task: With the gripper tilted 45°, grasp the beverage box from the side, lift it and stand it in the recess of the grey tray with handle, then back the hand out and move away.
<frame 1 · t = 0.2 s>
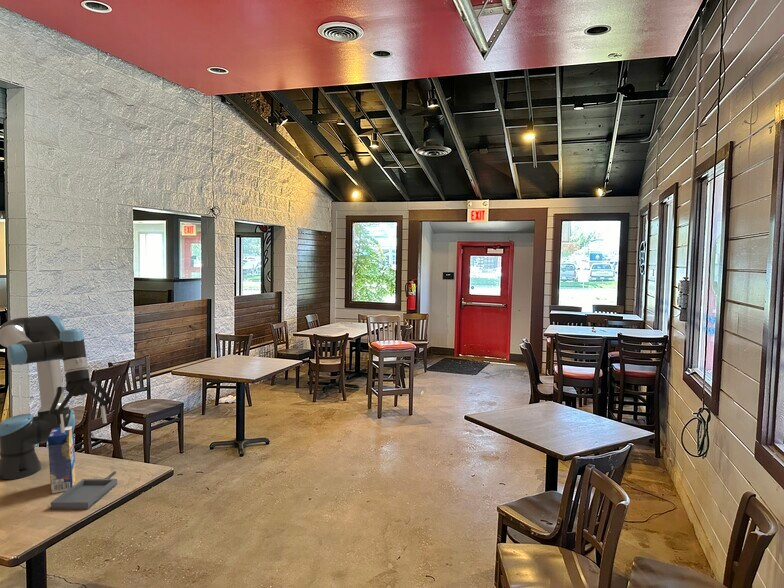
hand: (84, 428, 191), 27 cm above the table, tool tilted 15°, fingers open, 13 cm apart
beverage box: (63, 486, 204), on the table
grey tray with handle: (85, 496, 195), on the table
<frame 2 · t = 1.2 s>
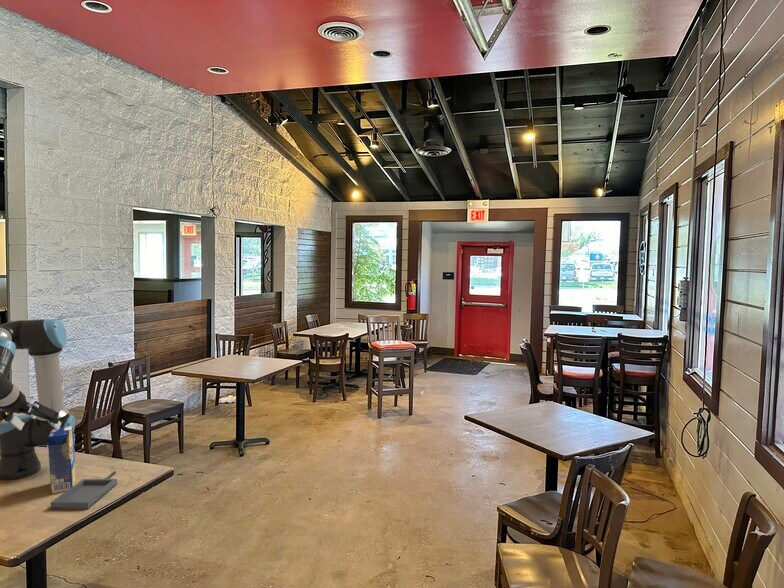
hand: (40, 426, 191), 28 cm above the table, tool tilted 45°, fingers open, 13 cm apart
nothing on the table moved.
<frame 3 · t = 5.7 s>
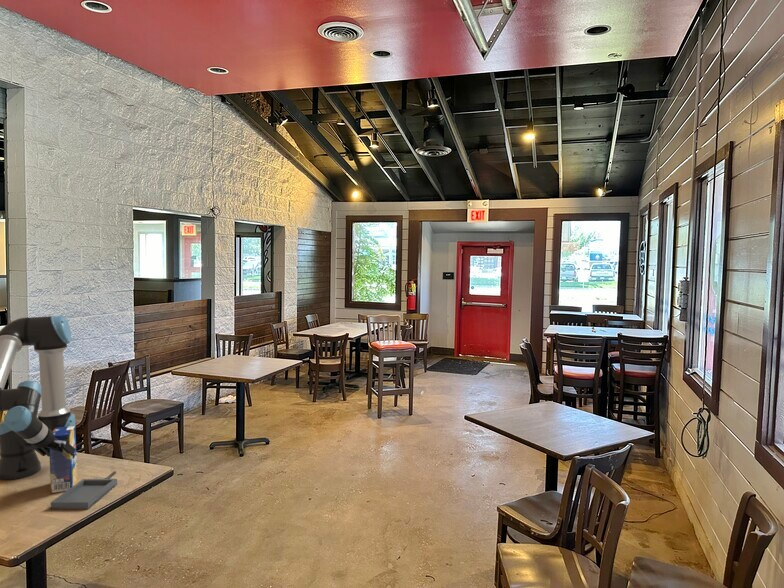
hand: (68, 460, 207), 9 cm above the table, tool tilted 45°, fingers open, 5 cm apart
beverage box: (64, 486, 204), on the table, touching gripper
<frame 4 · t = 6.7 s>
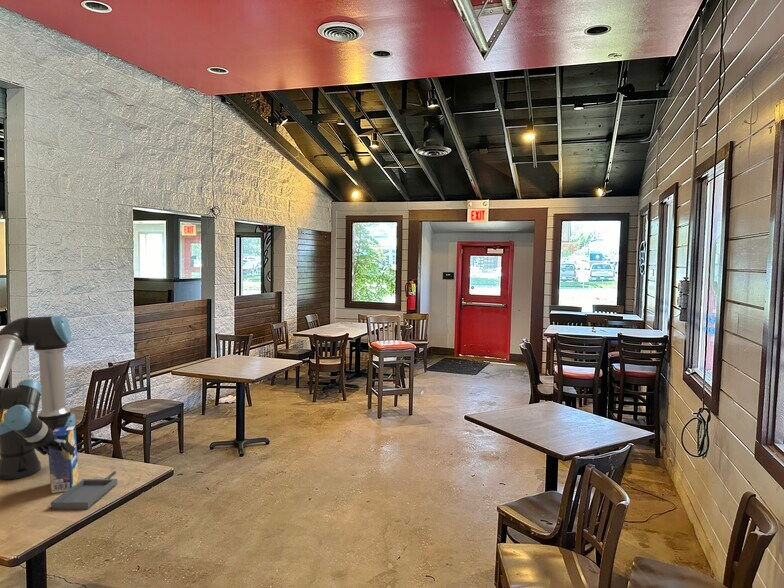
hand: (68, 459, 207), 9 cm above the table, tool tilted 45°, fingers open, 4 cm apart
nothing on the table moved.
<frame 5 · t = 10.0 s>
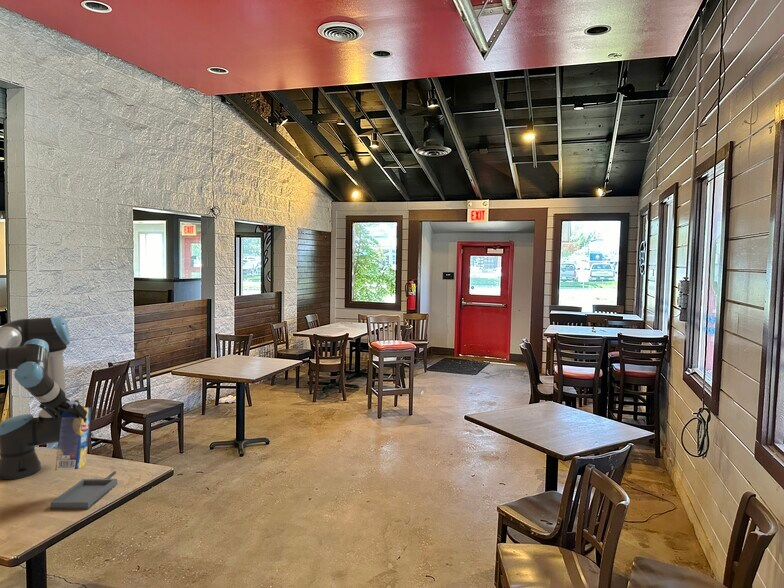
hand: (80, 425, 200), 25 cm above the table, tool tilted 45°, fingers closed on beverage box, 4 cm apart
beverage box: (70, 468, 194), point 11 cm above the table, touching gripper
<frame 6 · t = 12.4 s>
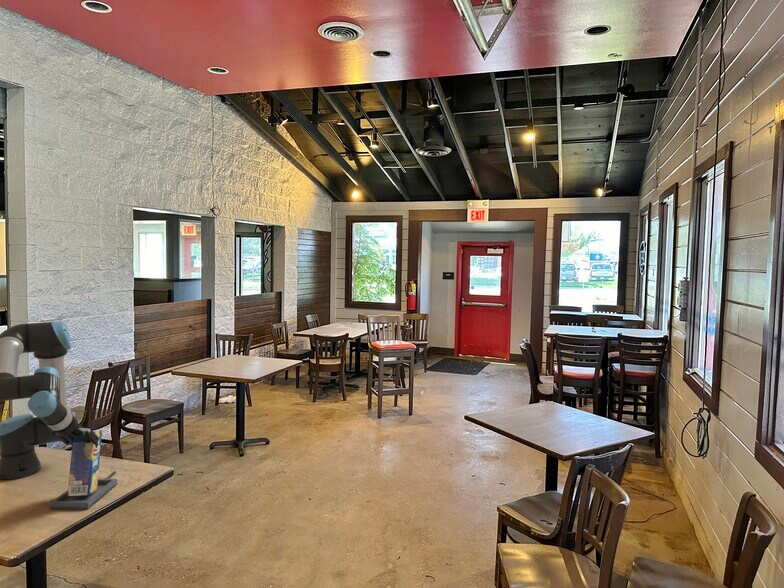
hand: (91, 449, 199), 16 cm above the table, tool tilted 45°, fingers open, 4 cm apart
beverage box: (82, 493, 193), point 2 cm above the table, touching grey tray with handle, gripper
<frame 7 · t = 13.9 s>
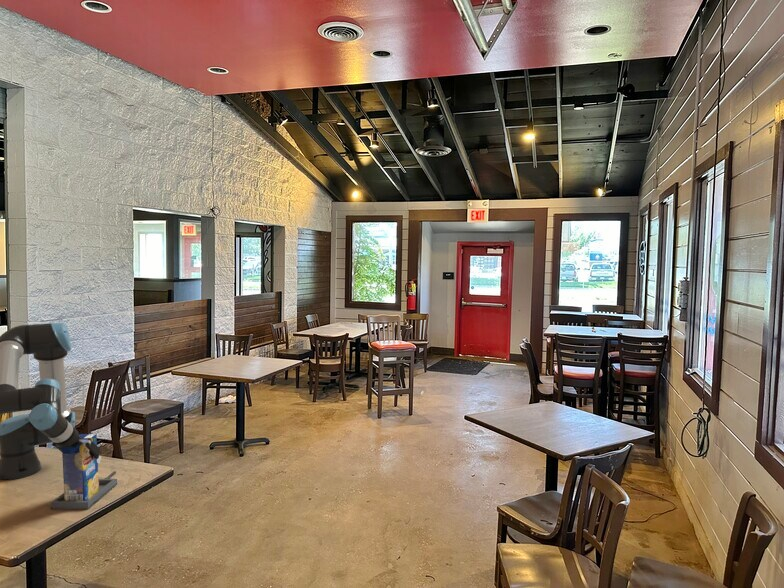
hand: (92, 460, 200), 12 cm above the table, tool tilted 45°, fingers open, 5 cm apart
beverage box: (82, 497, 193), point 1 cm above the table, touching grey tray with handle
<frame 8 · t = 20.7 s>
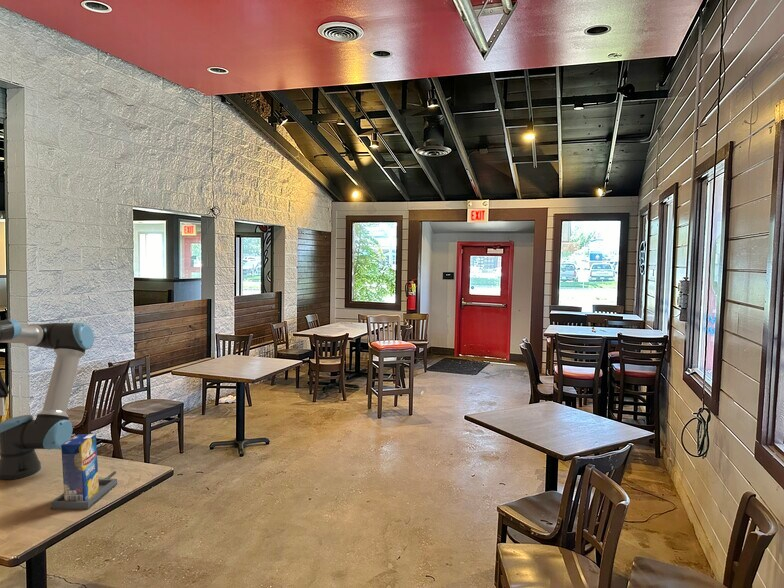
nothing on the table moved.
at the end: beverage box 2.0 cm off-centre on the grey tray with handle, point 0.6 cm above the grey tray with handle's base; beverage box tilted 0°; the gripper is holding nothing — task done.
